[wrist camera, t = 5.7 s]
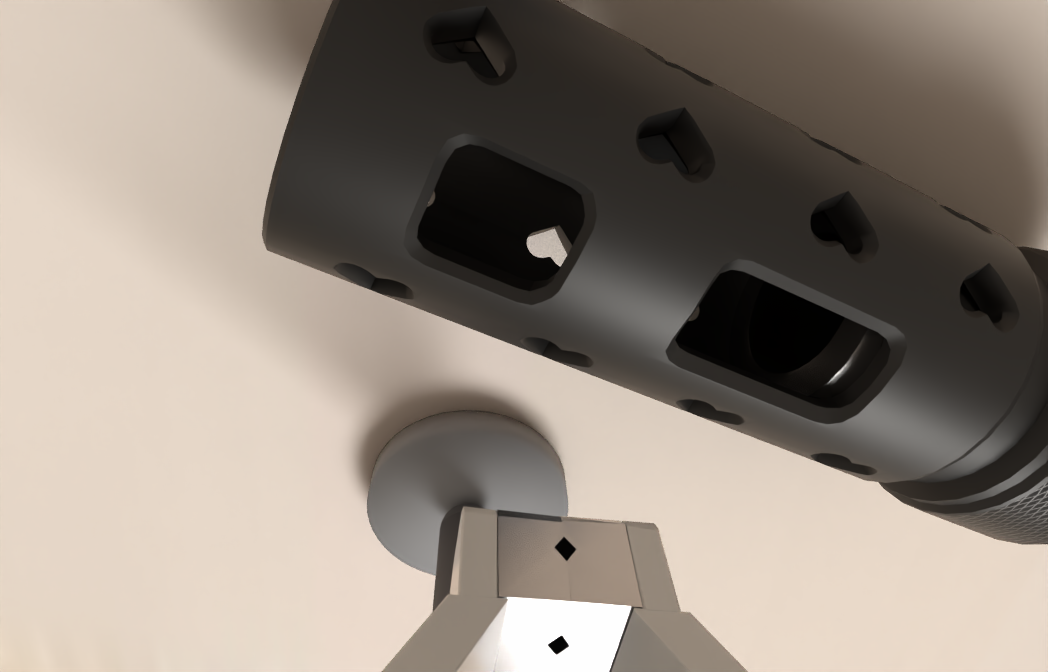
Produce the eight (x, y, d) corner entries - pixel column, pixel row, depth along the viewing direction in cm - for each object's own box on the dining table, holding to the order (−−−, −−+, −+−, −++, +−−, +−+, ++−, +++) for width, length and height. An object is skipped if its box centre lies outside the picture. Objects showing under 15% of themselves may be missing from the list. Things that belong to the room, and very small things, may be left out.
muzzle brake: (412, -102, 21) (353, -107, 12) (1076, 255, 28) (1342, 414, 19) (316, 179, 26) (223, 324, 17) (913, 428, 33) (1069, 622, 24)
